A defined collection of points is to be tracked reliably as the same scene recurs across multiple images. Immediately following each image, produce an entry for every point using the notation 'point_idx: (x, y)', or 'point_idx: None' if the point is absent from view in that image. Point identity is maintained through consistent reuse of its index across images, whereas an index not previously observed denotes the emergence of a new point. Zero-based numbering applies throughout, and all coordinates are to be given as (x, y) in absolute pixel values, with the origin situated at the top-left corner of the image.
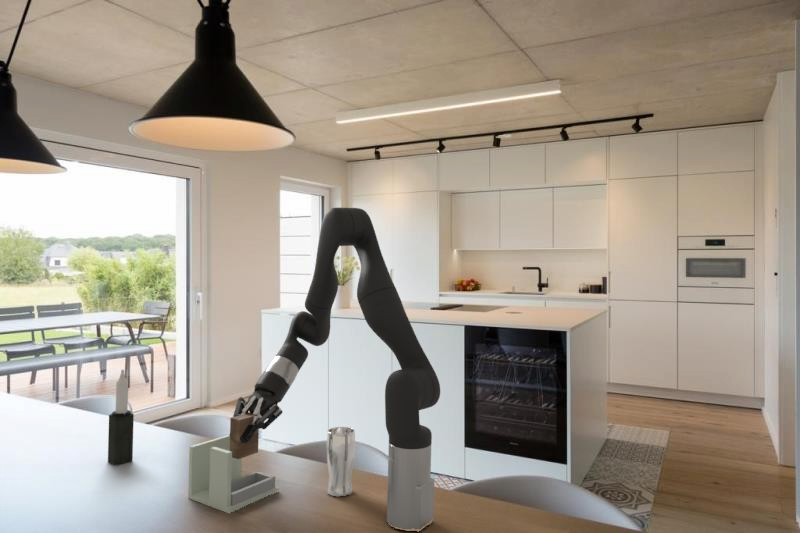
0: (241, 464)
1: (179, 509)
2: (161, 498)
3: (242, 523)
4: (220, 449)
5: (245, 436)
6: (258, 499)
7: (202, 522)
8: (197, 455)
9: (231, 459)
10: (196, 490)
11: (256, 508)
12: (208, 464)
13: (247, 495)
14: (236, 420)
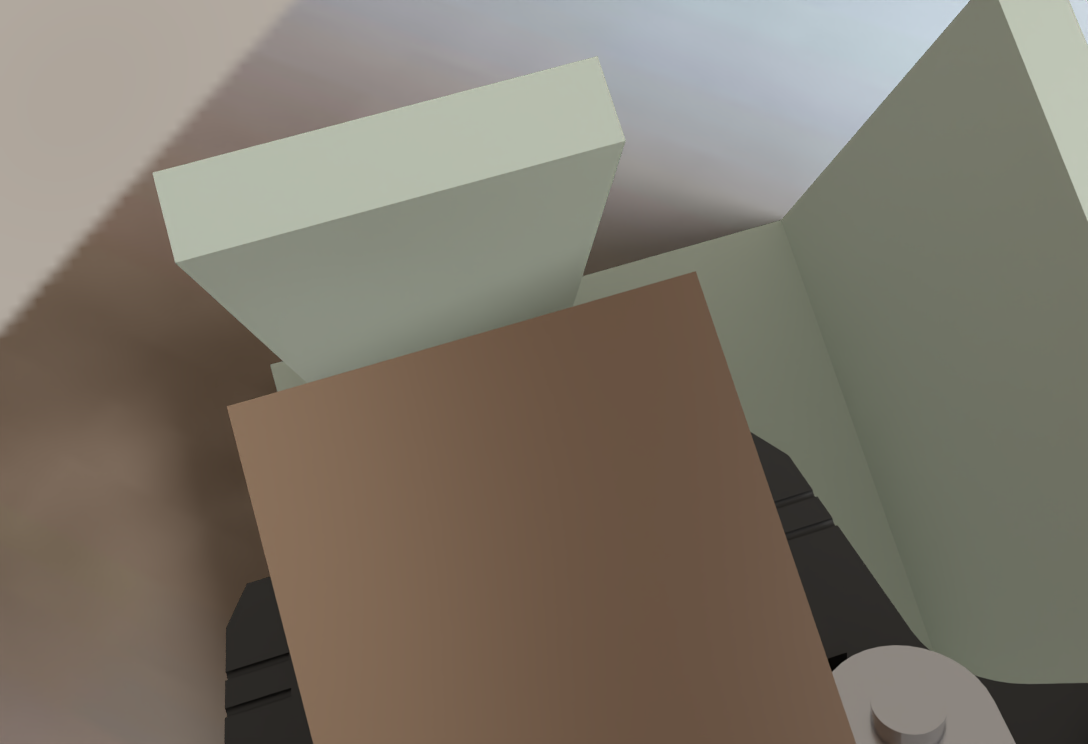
0: None
1: (619, 85)
2: (925, 49)
3: (28, 382)
4: (415, 155)
5: (273, 605)
6: None
7: (265, 136)
8: (955, 133)
9: (214, 292)
10: (806, 267)
11: (224, 619)
12: (944, 352)
13: None
14: (387, 368)
